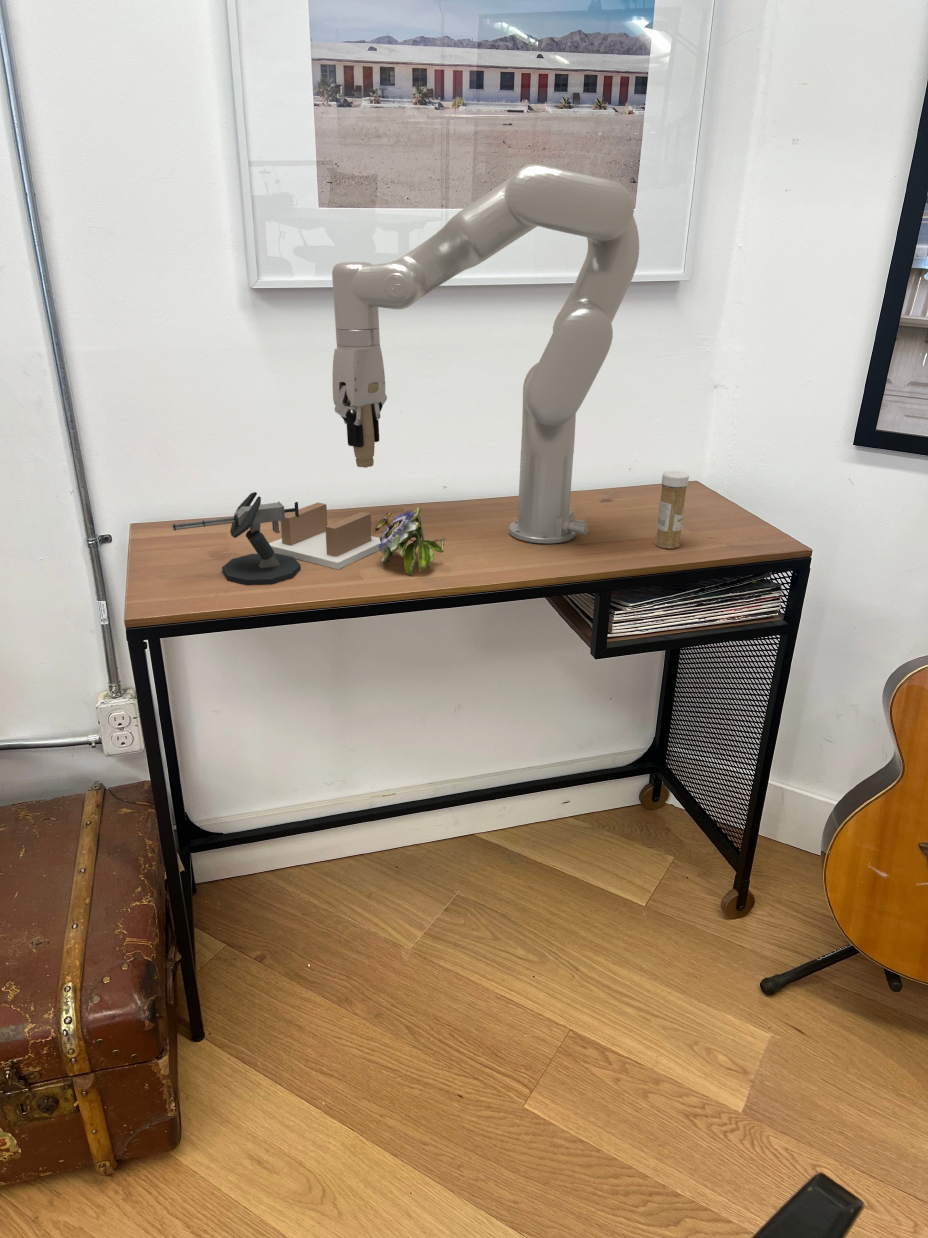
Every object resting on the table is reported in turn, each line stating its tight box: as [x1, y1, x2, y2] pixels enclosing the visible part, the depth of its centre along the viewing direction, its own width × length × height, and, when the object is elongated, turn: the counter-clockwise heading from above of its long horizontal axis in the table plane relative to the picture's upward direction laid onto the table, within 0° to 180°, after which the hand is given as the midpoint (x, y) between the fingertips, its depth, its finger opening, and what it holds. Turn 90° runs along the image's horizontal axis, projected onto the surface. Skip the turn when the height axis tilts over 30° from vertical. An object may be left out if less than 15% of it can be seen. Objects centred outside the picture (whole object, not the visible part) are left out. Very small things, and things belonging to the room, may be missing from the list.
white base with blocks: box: [268, 502, 381, 570], centre depth 153 cm, size 16×14×6 cm
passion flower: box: [374, 506, 446, 577], centre depth 147 cm, size 11×11×12 cm
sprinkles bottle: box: [654, 470, 690, 550], centre depth 157 cm, size 5×5×14 cm
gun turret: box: [172, 491, 302, 586], centre depth 140 cm, size 13×20×13 cm, turn 116°
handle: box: [351, 382, 379, 469], centre depth 158 cm, size 5×6×15 cm
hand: (363, 442), depth 159 cm, fingers closed on handle, 4 cm apart
